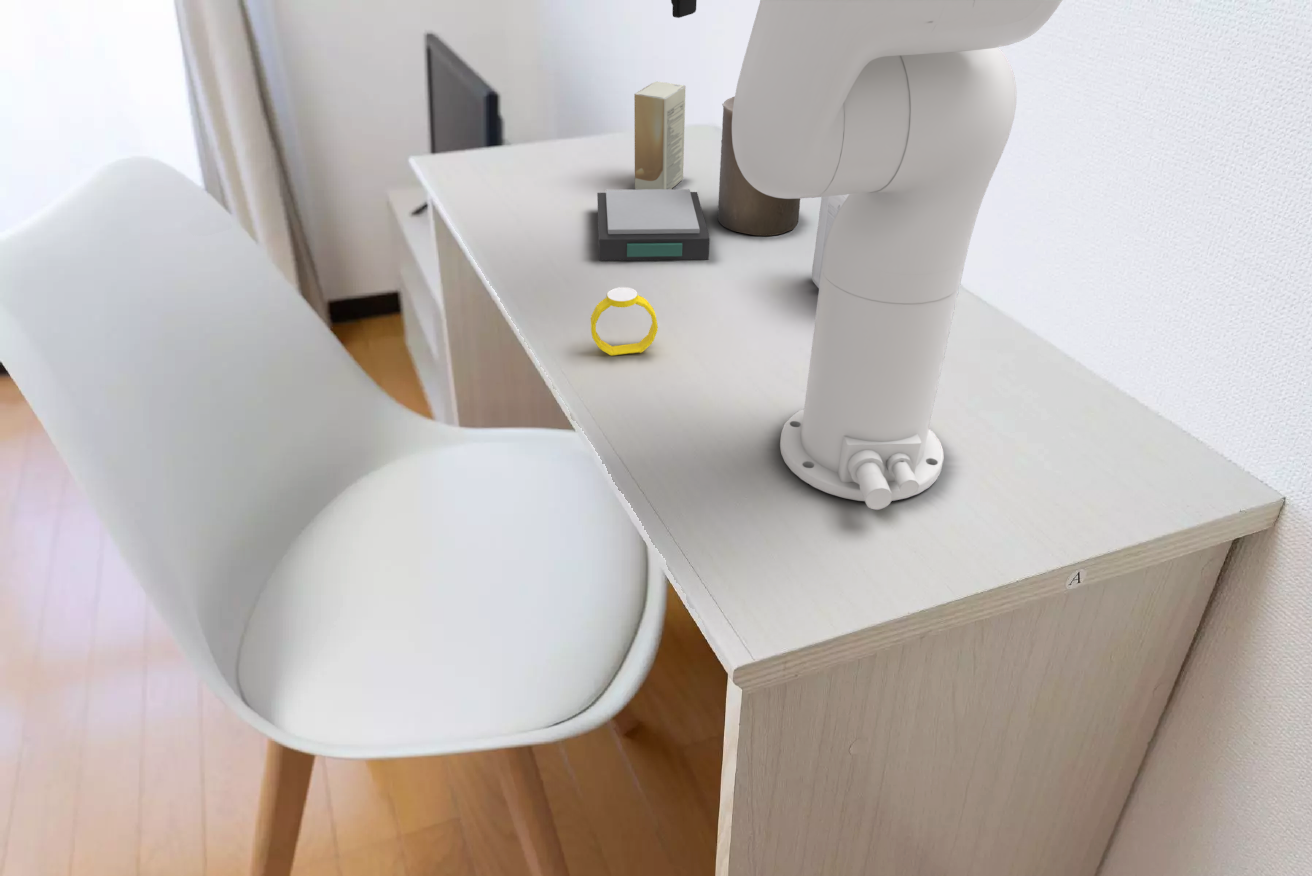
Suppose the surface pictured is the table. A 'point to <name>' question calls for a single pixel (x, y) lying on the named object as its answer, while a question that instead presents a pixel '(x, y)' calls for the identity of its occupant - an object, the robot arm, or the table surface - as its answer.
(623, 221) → the scale
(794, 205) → the pillar candle
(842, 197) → the photo printer
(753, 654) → the table surface
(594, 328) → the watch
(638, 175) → the cosmetic box
